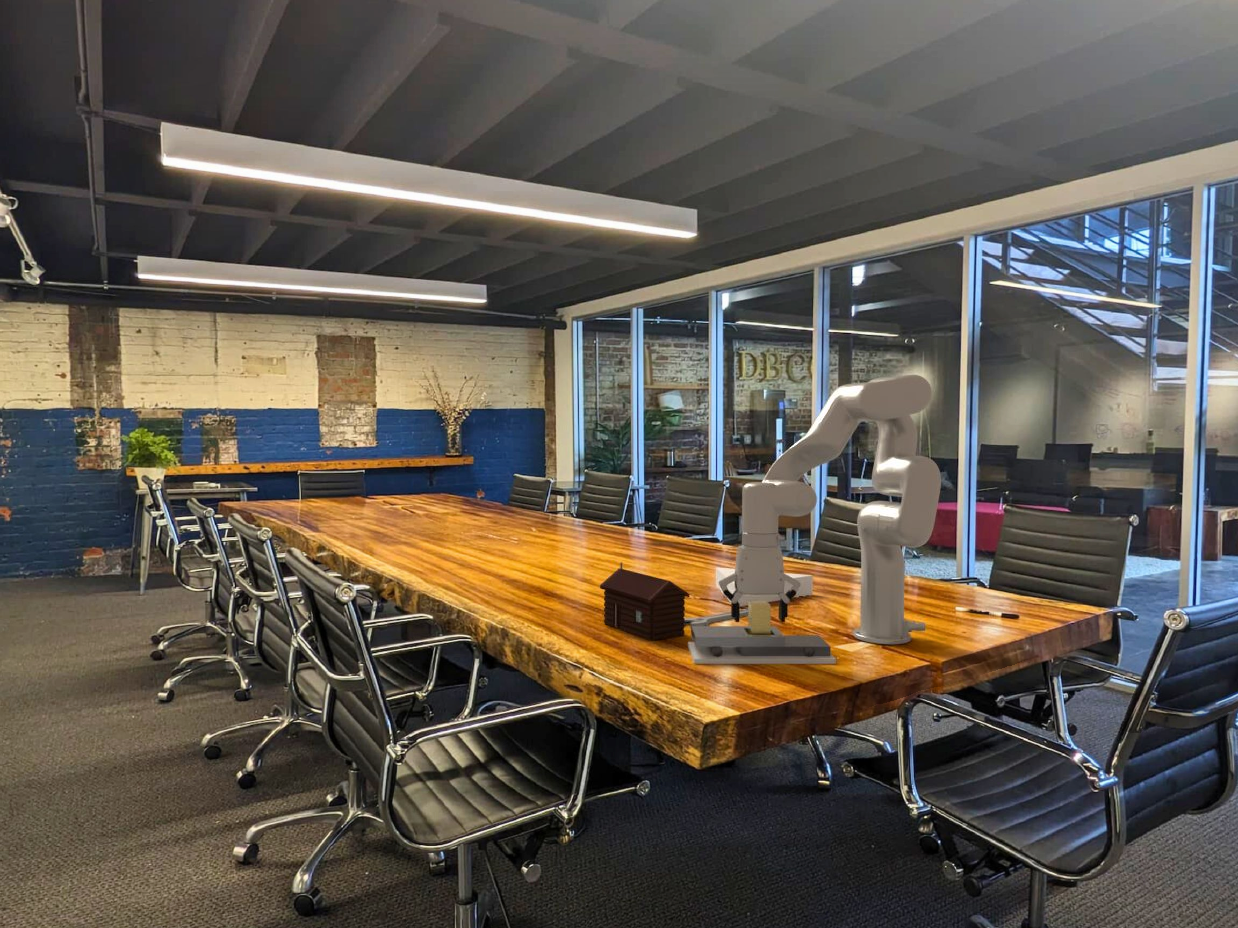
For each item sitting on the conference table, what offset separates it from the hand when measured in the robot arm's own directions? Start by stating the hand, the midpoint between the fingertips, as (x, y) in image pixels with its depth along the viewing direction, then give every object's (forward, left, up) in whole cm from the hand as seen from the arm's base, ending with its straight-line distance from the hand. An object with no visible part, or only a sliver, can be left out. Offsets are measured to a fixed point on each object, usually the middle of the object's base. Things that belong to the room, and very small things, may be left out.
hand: (759, 620), depth 163 cm
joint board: (0, 0, -7) cm, 7 cm away
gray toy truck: (0, 0, -7) cm, 7 cm away
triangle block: (-8, -64, -8) cm, 65 cm away
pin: (0, 0, -6) cm, 6 cm away
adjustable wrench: (+4, -30, -8) cm, 32 cm away
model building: (+24, -22, -8) cm, 33 cm away
